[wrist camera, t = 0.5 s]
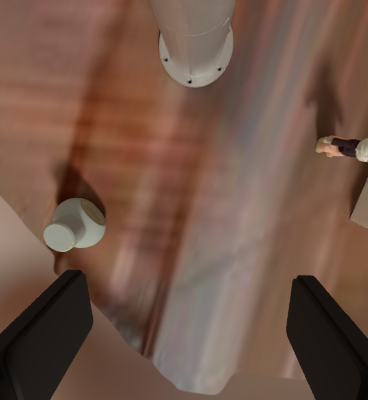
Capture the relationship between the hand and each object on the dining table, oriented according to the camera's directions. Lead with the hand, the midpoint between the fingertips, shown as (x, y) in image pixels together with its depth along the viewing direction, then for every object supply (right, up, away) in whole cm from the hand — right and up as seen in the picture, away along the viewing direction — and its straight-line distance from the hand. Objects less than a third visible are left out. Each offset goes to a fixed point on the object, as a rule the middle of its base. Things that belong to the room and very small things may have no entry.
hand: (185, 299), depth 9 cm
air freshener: (-22, 0, +37) cm, 43 cm away
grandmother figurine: (+26, +15, +30) cm, 42 cm away
